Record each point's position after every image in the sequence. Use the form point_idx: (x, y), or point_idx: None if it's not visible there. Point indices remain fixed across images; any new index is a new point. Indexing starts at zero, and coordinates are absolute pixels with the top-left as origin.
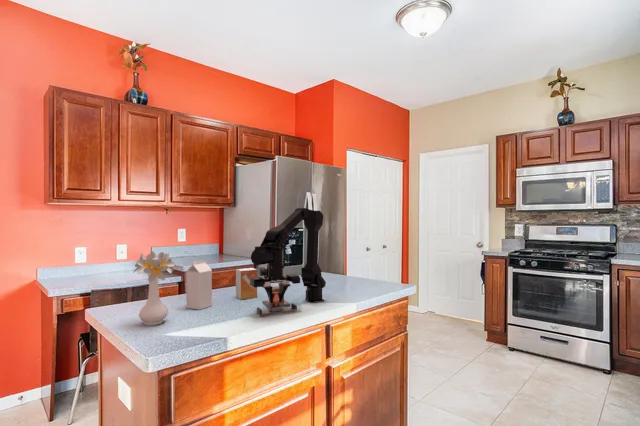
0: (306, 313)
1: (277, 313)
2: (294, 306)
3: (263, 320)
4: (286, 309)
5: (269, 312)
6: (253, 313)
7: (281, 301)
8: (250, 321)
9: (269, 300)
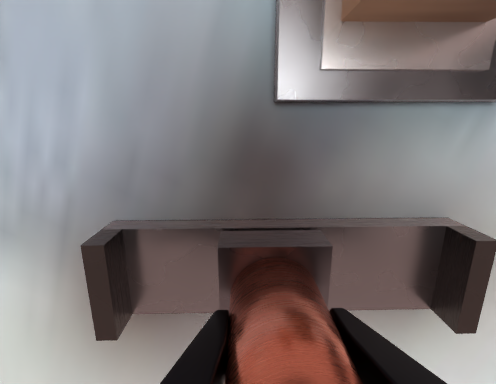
0: (463, 356)
1: None
2: (449, 311)
3: (129, 380)
4: (368, 280)
5: (201, 302)
6: (89, 184)
7: (466, 15)
8: (38, 367)
9: (202, 333)
